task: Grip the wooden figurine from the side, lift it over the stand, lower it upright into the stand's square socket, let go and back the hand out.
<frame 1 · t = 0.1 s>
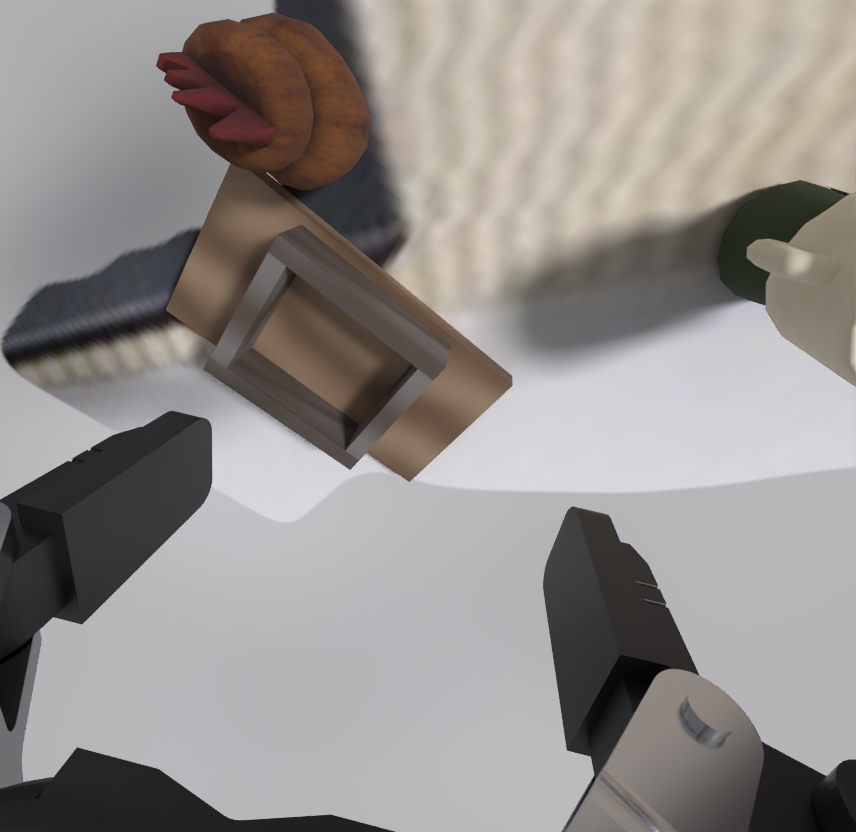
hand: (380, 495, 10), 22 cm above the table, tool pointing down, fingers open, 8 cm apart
wooden figurine: (329, 114, 26), on the table
character mug: (771, 241, 26), on the table
socket stand: (343, 339, 33), on the table
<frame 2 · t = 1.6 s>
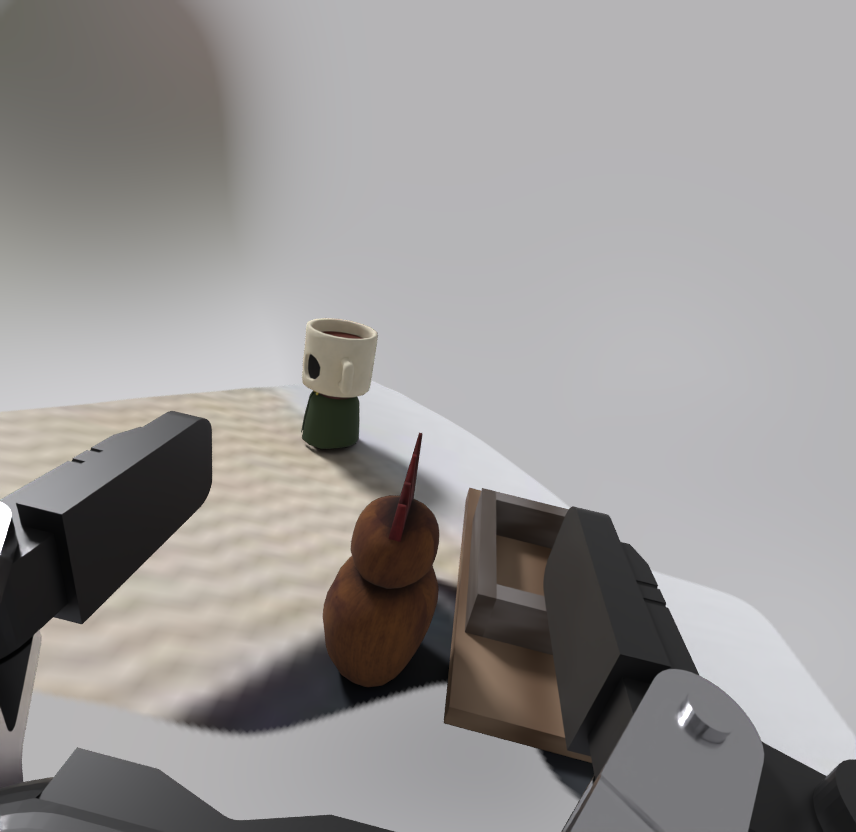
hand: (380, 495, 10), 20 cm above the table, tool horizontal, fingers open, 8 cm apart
wooden figurine: (370, 655, 28), on the table
character mug: (329, 441, 50), on the table
socket stand: (532, 599, 35), on the table
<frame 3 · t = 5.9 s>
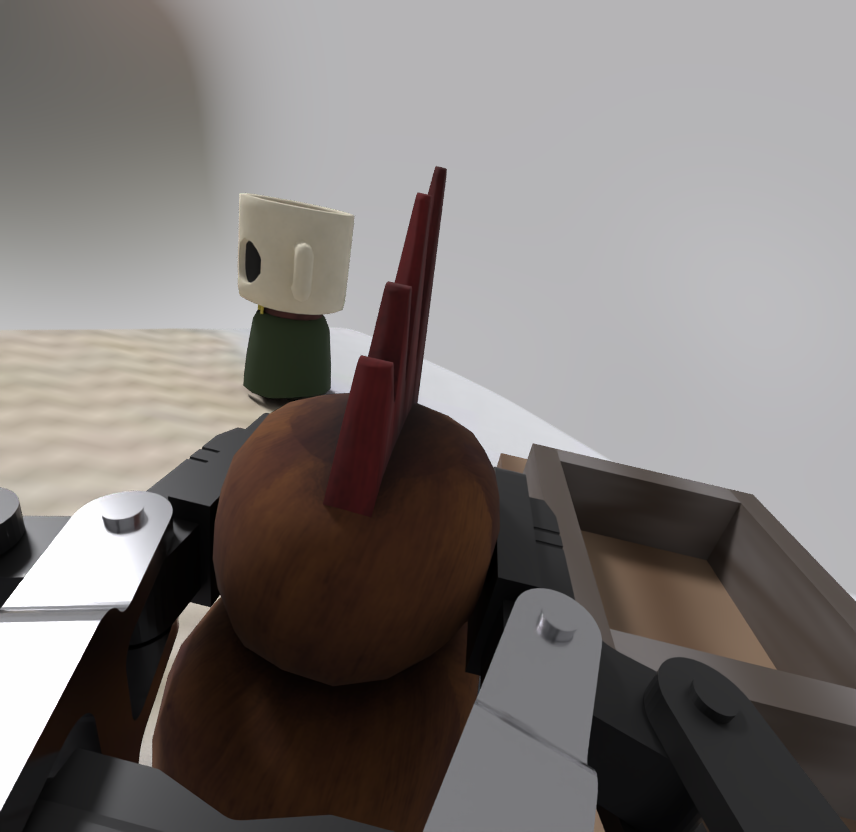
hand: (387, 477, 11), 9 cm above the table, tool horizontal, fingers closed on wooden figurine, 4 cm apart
wooden figurine: (315, 805, 12), on the table, touching gripper
character mug: (287, 393, 34), on the table
socket stand: (639, 642, 19), on the table
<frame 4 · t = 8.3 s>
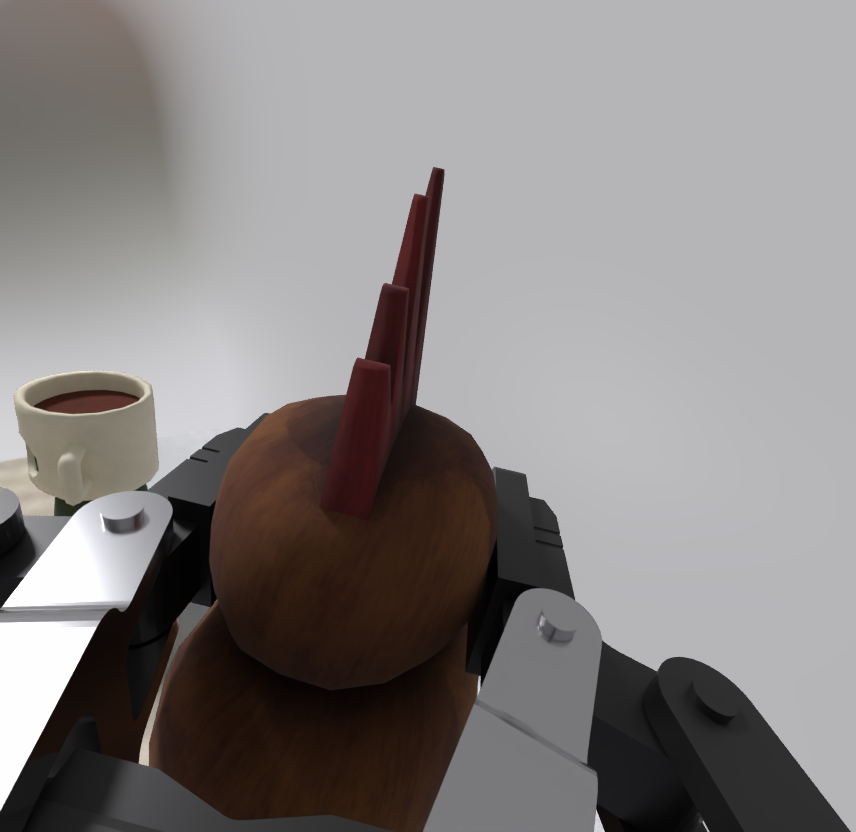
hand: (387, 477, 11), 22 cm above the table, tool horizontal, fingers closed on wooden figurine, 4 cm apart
wooden figurine: (314, 808, 12), point 13 cm above the table, touching gripper
character mug: (110, 549, 34), on the table
when the fingers open (11 cm above the table, at t = 10.7 s): wooden figurine stays where it is, resting on socket stand.
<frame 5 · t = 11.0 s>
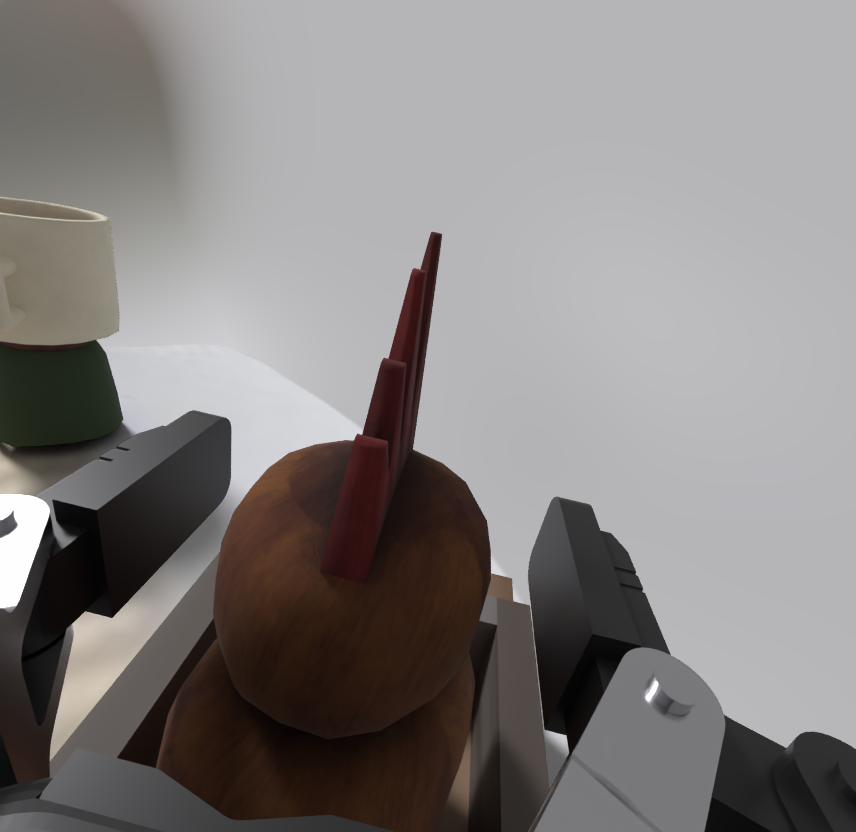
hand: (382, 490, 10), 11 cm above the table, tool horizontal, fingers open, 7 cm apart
character mug: (63, 434, 28), on the table
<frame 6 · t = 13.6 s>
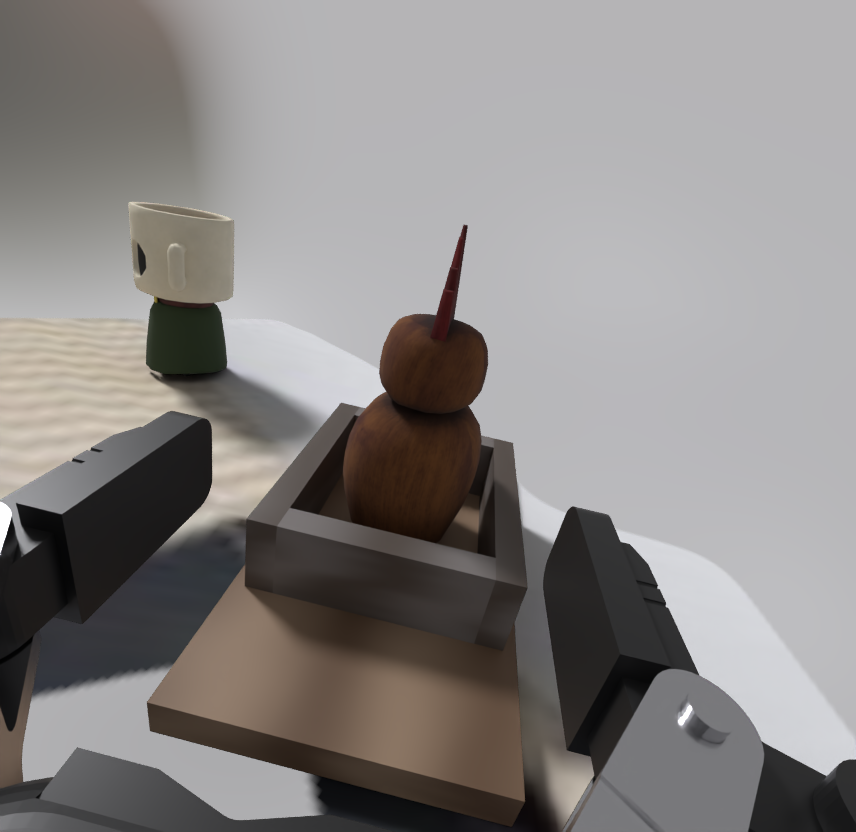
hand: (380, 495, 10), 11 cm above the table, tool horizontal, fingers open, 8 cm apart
wooden figurine: (398, 532, 24), point 1 cm above the table, touching socket stand
character mug: (188, 371, 40), on the table
socket stand: (394, 549, 24), on the table
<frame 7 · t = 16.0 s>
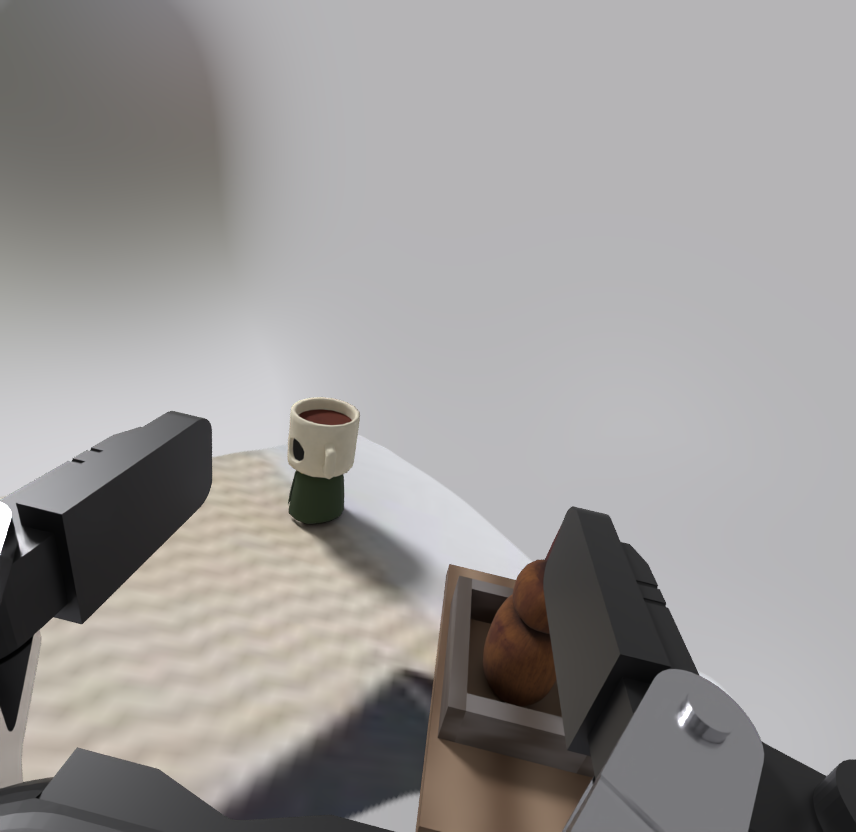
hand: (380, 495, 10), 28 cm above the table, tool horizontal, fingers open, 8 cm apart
wooden figurine: (510, 680, 36), point 1 cm above the table, touching socket stand
character mug: (315, 512, 52), on the table
socket stand: (506, 689, 37), on the table
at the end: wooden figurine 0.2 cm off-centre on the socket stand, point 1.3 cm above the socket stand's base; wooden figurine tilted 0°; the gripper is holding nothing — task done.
